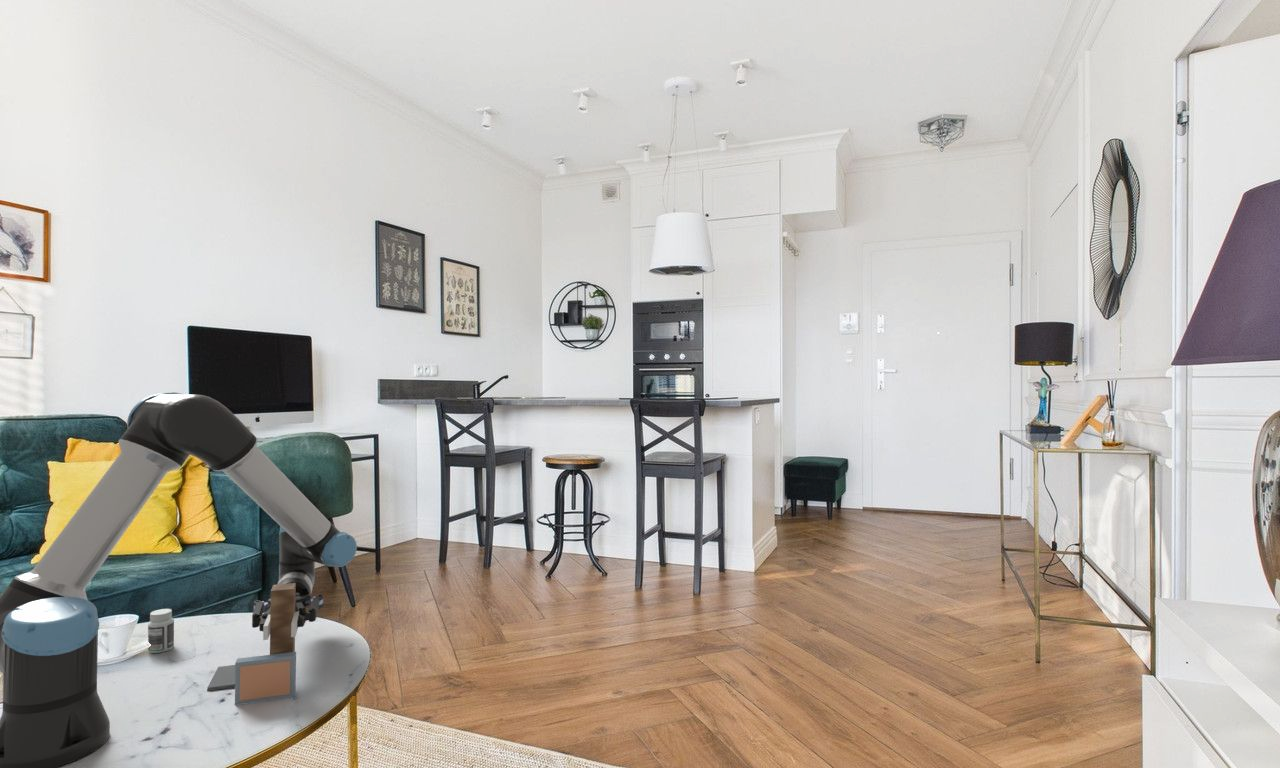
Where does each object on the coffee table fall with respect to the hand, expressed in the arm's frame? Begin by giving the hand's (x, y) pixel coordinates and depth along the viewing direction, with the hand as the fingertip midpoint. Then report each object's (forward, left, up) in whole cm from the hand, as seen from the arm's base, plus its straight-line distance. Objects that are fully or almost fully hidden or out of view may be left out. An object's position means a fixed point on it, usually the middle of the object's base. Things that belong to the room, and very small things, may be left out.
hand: (279, 631), depth 128 cm
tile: (-2, +1, -13) cm, 13 cm away
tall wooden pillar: (0, +5, -8) cm, 10 cm away
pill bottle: (-27, +34, -13) cm, 45 cm away
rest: (-8, +13, -13) cm, 20 cm away
